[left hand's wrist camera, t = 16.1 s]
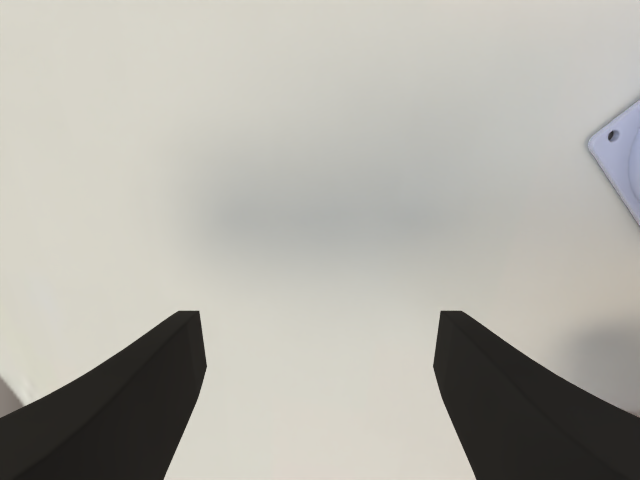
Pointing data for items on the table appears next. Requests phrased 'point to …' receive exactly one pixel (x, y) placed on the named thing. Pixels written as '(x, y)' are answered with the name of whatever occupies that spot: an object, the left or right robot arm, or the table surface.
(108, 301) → the table surface
